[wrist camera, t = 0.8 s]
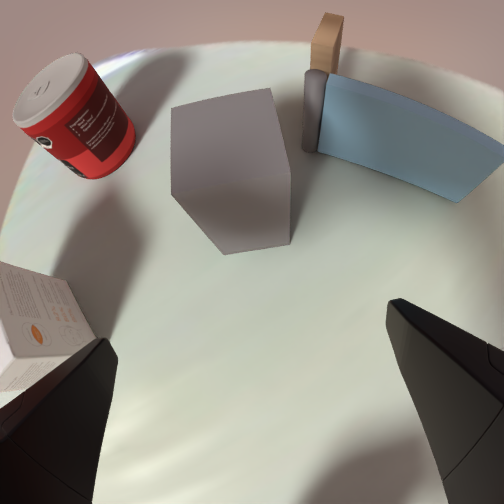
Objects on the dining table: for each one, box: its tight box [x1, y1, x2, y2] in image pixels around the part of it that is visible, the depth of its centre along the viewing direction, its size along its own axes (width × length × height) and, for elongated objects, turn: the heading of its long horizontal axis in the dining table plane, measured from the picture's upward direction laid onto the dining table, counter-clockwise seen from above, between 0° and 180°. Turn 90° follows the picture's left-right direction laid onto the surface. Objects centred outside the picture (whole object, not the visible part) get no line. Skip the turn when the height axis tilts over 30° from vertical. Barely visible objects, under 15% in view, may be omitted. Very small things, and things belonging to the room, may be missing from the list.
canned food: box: [13, 53, 136, 179], centre depth 22 cm, size 8×8×11 cm
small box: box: [0, 261, 96, 392], centre depth 18 cm, size 8×6×10 cm
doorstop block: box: [171, 88, 291, 255], centre depth 18 cm, size 5×5×11 cm
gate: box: [302, 69, 504, 203], centre depth 19 cm, size 15×1×8 cm, turn 70°
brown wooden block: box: [310, 13, 344, 131], centre depth 20 cm, size 5×1×10 cm, turn 160°
